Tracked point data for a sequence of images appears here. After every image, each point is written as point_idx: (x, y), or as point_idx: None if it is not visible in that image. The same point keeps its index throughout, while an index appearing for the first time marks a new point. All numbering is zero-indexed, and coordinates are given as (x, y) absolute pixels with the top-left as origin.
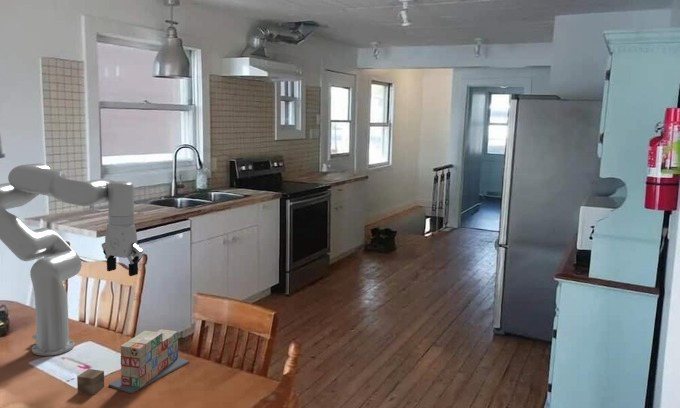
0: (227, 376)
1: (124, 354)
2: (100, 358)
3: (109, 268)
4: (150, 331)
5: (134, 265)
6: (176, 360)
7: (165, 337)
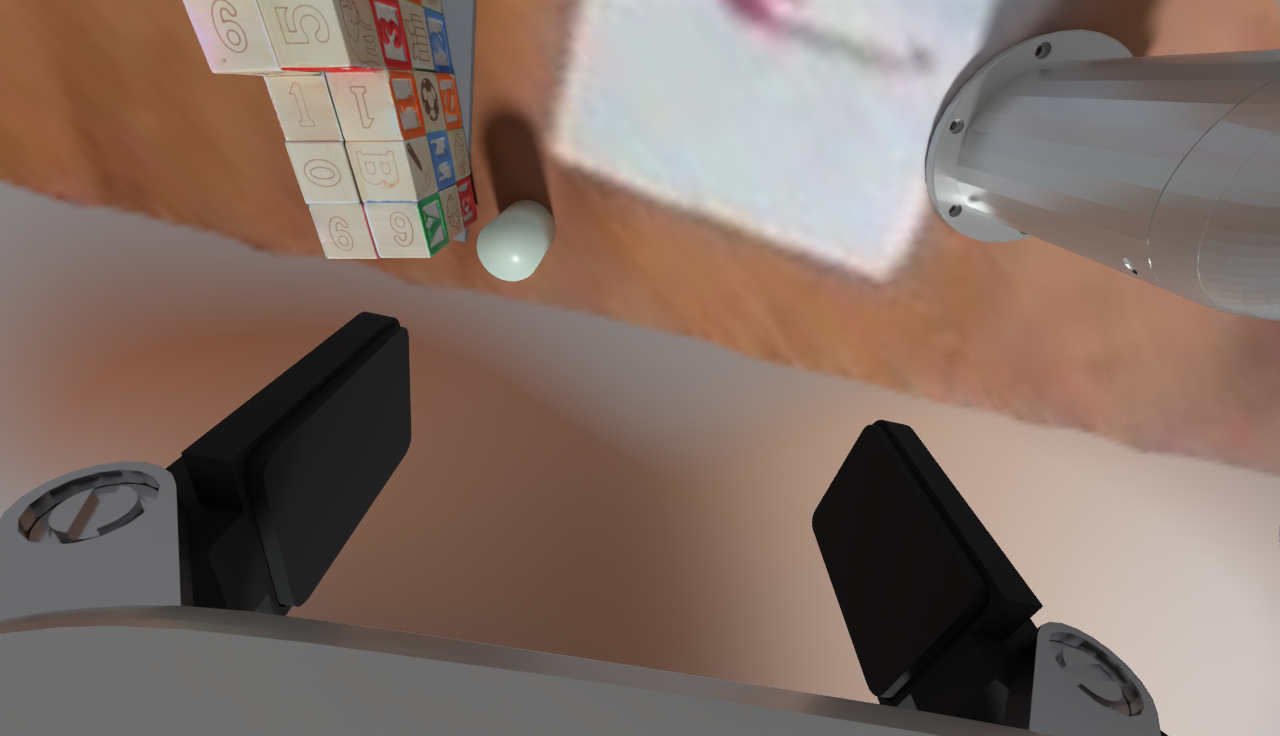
0: (98, 136)
1: None
2: (735, 117)
3: (880, 458)
4: (298, 61)
5: (180, 479)
6: None
7: (306, 149)
